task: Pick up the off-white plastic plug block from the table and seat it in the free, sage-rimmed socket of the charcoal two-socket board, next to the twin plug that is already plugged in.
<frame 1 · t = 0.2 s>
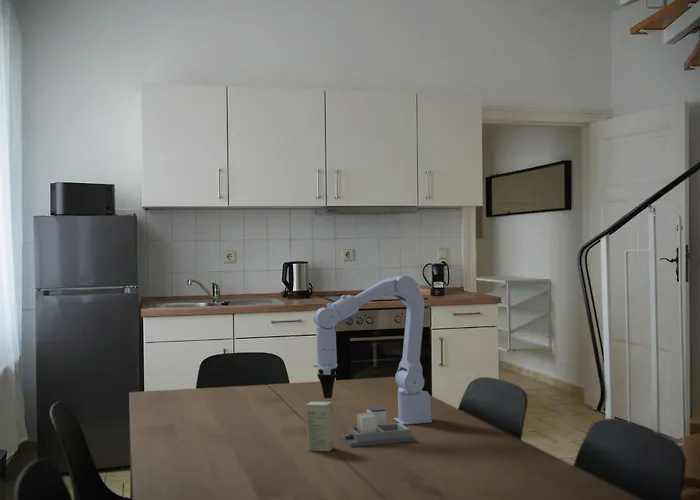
hand: (328, 395, 221), 10 cm above the table, fingers open, 7 cm apart
socket board: (377, 439, 207), on the table
skincare box: (320, 450, 199), on the table
plug: (376, 430, 218), on the table
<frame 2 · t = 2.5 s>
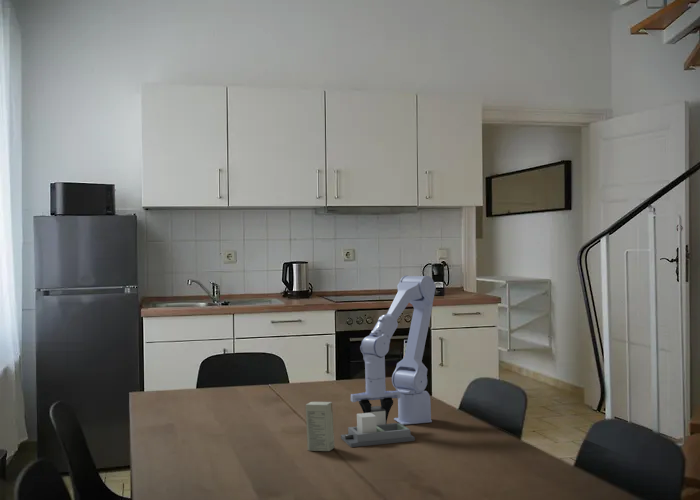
hand: (376, 424, 218), 2 cm above the table, fingers closed on plug, 4 cm apart
plug: (376, 430, 218), on the table, touching gripper
everything else where it was.
when the fingers open (4 cm above the table, at t = 6.0 s): plug stays where it is, resting on socket board.
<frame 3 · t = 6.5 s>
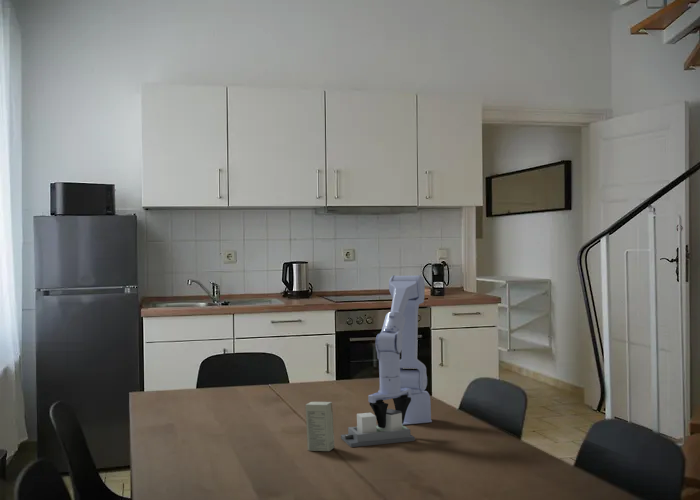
hand: (391, 425, 208), 4 cm above the table, fingers open, 6 cm apart
plug: (390, 434, 208), point 1 cm above the table, touching socket board
everything else where it was.
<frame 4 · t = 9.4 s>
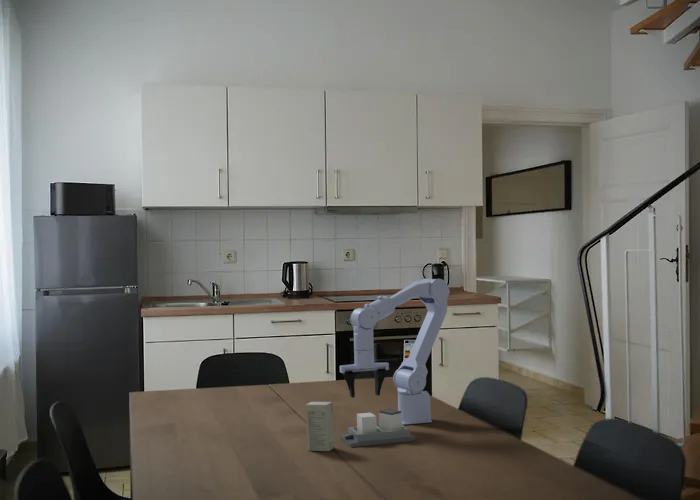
hand: (365, 395, 221), 9 cm above the table, fingers open, 7 cm apart
nothing on the table moved.
at the end: plug 0.2 cm from the target spot on the socket board, point 1.0 cm above the socket board's base; plug tilted 0°; the gripper is holding nothing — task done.
